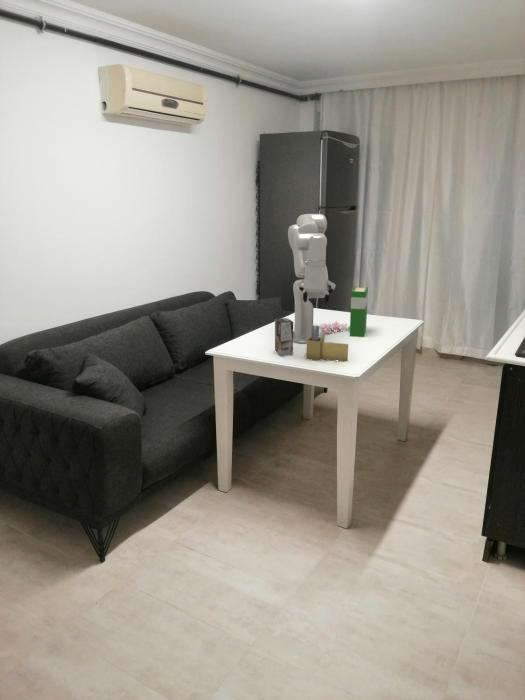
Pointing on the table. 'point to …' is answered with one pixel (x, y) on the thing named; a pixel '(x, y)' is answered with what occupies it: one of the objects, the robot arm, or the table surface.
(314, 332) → the pin
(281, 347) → the coffee box
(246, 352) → the table surface
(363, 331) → the hardback book
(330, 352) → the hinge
